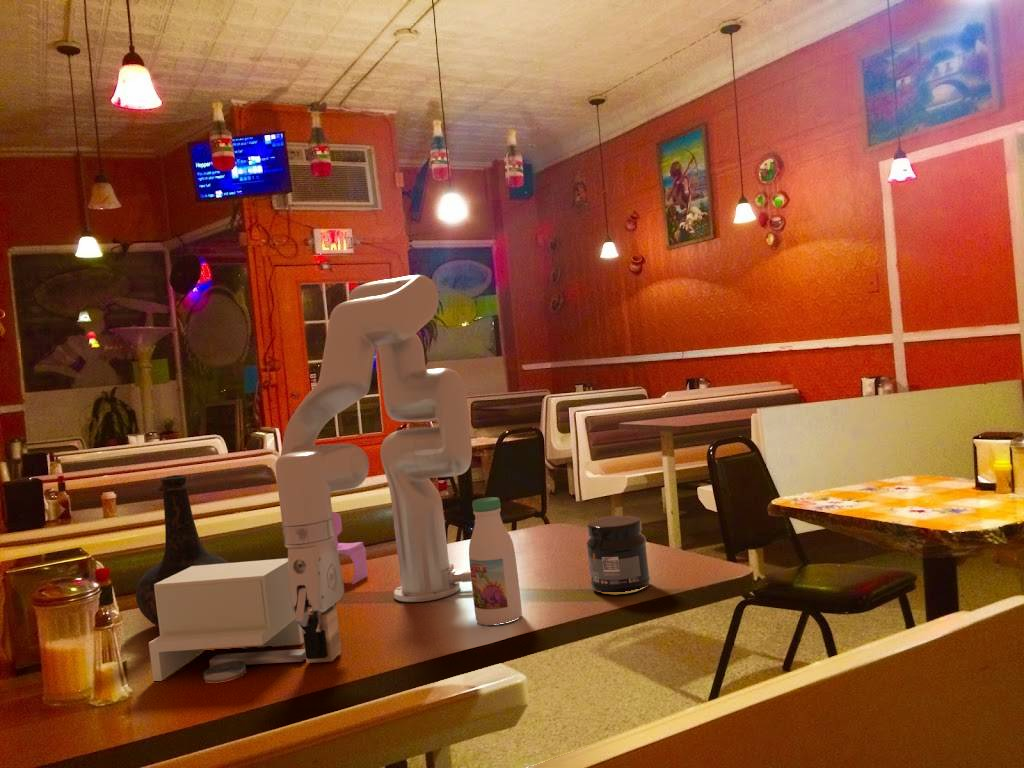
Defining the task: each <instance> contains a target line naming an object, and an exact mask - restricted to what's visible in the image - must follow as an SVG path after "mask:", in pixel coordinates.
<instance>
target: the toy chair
mask: <svg viewBox="0 0 1024 768" xmlns="http://www.w3.org/2000/svg"><path fill="white" fill-rule="evenodd" d="M332 514H333V523H334V531H335V543H336V547H337V551H338V555H347V556H349V557H350V560H351V561H352V564H353V568H354V571H353V572H354V573H353V578H352V582H351V585H354V584H356V583H358V582H360V581H362V580H363V579H365V578H367V577H368V576H369V575H368V567H367V549H366V547H365V546H364V541H358V542H348V543H347V542H339V541H338V536H339V534H341V533H342V531H343V525H342V518H341V516H340V514H339V513H338V512H336V511H333V510H332Z"/></svg>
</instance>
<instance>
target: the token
mask: <svg viewBox="0 0 1024 768" xmlns="http://www.w3.org/2000/svg"><path fill="white" fill-rule="evenodd" d="M245 672H246V673H247V665H246V664H245V662H242V661H230V662H225V663H221V664H217V665H214V666H212V667H210V666H209V667H208V668H206V669H205V670H204V671H203V672H202V675H203V681H204V680H205V681H207V682H220V681H226V680H229V679H233V678H236V677H239V676H241V675H242V674H244V673H245Z"/></svg>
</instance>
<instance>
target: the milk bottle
mask: <svg viewBox="0 0 1024 768" xmlns="http://www.w3.org/2000/svg"><path fill="white" fill-rule="evenodd" d="M471 505H472V506H471V507H472V512H473V513H472V514H473V515H474V520H475V521H474V526H473V529H472V530H473V531H472V533H471V537H470V539H469V547H468V559H469V569H470V570H469V571H470V572H471V589H472V598H473V607H474V608H473V609H474V615H475V620H476V622H477V623H478V624H479V623H480V624H479V625H482V624H484V625H483V626H488V625H494V624H500V623H506V622H509V621H512V620H515V619H517V618H519V617H520V616H521V617H522V615H523V610H522V609H523V608H522V601H521V590H520V583H519V581H520V580H519V573H518V565H517V558H516V552H515V546H514V542H513V539H512V537H511V535H510V533H509V532H508V530H507V528H506V526H505V525H504V522H503V520H502V517H501V511H502V508H501V501H500V497H494V496H490V497H482V498H477V499H475V500H473V501H472V503H471Z"/></svg>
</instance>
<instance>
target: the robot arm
mask: <svg viewBox="0 0 1024 768" xmlns="http://www.w3.org/2000/svg"><path fill="white" fill-rule="evenodd" d="M439 300H440V298H439V291H438V289H437V287H436V284H435V282H434V281H433V280H432V279H430V278H429V277H427V275H422V274H415V275H414V274H413V275H406V276H401V277H396V278H390V279H388V278H387V279H382V280H377V281H376V280H374V281H371V282H367V283H363V284H361V285H358V286H356V287H354V289H352V290H351V291H350V293H349V295H348V300H346V301H344V302H341V303H339V304H337V305H336V306H335V307H334V308H333V309H332V311H331V313H330V315H329V321H328V325H327V331H326V336H325V337H326V338H325V342H324V349H323V355H322V361H321V367H320V373H319V378H318V381H317V383H316V385H314V387H313V388H312V389H311V390H310V391H309V392H308V394H307V395H306V396H305V397H304V398H303V400H301V403H300V404H299V405H298V407H297V408H296V409H295V411H294V412H293V414H292V415H291V417H290V419H289V421H288V423H287V425H286V426H285V427H286V428H285V432H284V434H283V440H282V446H281V452H280V453H281V454H280V456H279V457H278V458H277V459H276V461H275V474H276V483H277V490H278V491H277V492H278V499H279V501H278V502H279V508H280V517H281V524H282V533H283V542H284V547H285V548H286V549H287V558H288V574H289V588H290V598H291V604H292V609H293V611H294V612H295V613H296V618H295V621H296V623H298V624H299V625H300V626H301V627H302V633H303V635H304V637H303V641H304V642H303V644H304V643H305V646H304V649H305V652H306V658H307V659H319V658H326V657H327V655H328V652H327V644H326V635H325V630H322V612H325V611H326V610H327V609H329V608H330V607H336V606H337V602H338V601H339V600H340V599H341V598H342V597H343V596H344V593H345V588H344V587H345V586H344V580H343V573H342V569H341V567H342V566H341V563H340V562H341V561H340V556H339V555H340V554H338V551H337V547H336V543H335V531H334V523H333V514H332V511H333V508H332V507H333V506H332V499H331V494H332V493H333V492H344V491H345V492H346V491H351V490H354V489H356V488H358V487H359V486H361V485H362V484H363V483H364V482H365V480H366V479H367V477H368V475H369V471H370V460H369V457H368V454H367V453H366V452H365V451H364V449H363V448H361V447H360V446H358V445H356V444H353V443H334V444H333V443H332V444H317V445H316V442H317V439H318V436H319V435H320V433H321V431H322V430H323V429H324V427H325V425H327V423H328V422H329V421H331V419H333V418H334V417H335V416H337V415H338V414H339V413H342V412H343V411H345V410H346V409H348V408H350V406H352V405H354V404H355V403H357V402H358V401H360V400H362V399H363V398H364V397H365V396H367V394H368V393H369V392H370V388H371V382H372V375H373V368H374V360H375V355H376V349H377V351H378V355H379V362H380V363H379V364H380V372H381V374H380V375H381V383H382V394H383V404H384V408H385V412H386V415H387V416H388V417H389V418H390V419H391V420H392V421H396V422H404V423H405V422H421V421H430V420H436V421H437V424H438V426H431V427H424V426H423V427H414V428H413V427H412V428H405V429H399V430H396V431H393V432H392V433H390V434H388V435H387V436H386V437H385V438H384V439H383V441H382V442H381V443H382V444H381V446H380V460H381V463H382V464H381V465H382V469H383V470H384V471H383V472H384V475H385V478H386V481H387V484H388V488H389V489H388V490H389V493H390V500H391V507H392V516H393V517H392V518H393V525H394V526H393V528H394V534H395V542H396V553H397V561H398V569H399V578H400V586H398V587H396V588H395V590H394V591H393V597H394V599H395V600H397V601H399V602H404V603H420V602H423V603H424V602H430V601H435V600H440V599H442V598H443V599H445V598H447V597H449V596H452V595H454V594H455V593H457V592H458V591H459V590H460V588H461V586H460V583H461V582H462V583H468V582H469V583H470V582H471V572H470V570H469V569H461V570H457V569H456V568H455V569H454V563H450V560H449V552H448V544H447V543H448V542H447V534H446V525H445V517H444V507H443V500H442V497H441V494H440V491H439V490H438V488H437V487H436V486H435V484H434V483H433V481H432V480H431V478H448V477H457V476H460V475H463V474H465V473H466V472H468V470H469V468H470V466H471V465H472V463H471V462H472V457H473V449H472V446H473V445H472V437H471V436H472V435H471V426H470V423H471V422H470V417H469V416H470V414H469V404H468V396H467V395H468V394H467V390H466V387H465V386H466V385H465V383H464V381H463V379H462V377H461V375H460V374H459V373H458V372H457V371H456V370H454V369H452V368H448V367H437V368H429V369H427V365H426V359H425V358H426V357H425V351H424V345H423V343H422V340H421V339H420V337H419V336H418V334H417V333H418V332H419V331H420V330H421V329H422V328H423V327H425V326H426V325H427V324H428V323H429V322H431V320H432V319H433V318H434V317H435V315H436V313H437V311H438V308H439ZM471 583H472V582H471ZM309 608H311V609H312V608H313V609H314V610H313V611H309ZM310 615H315V620H314V619H313V618H309V616H310ZM306 658H305V659H306Z"/></svg>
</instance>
